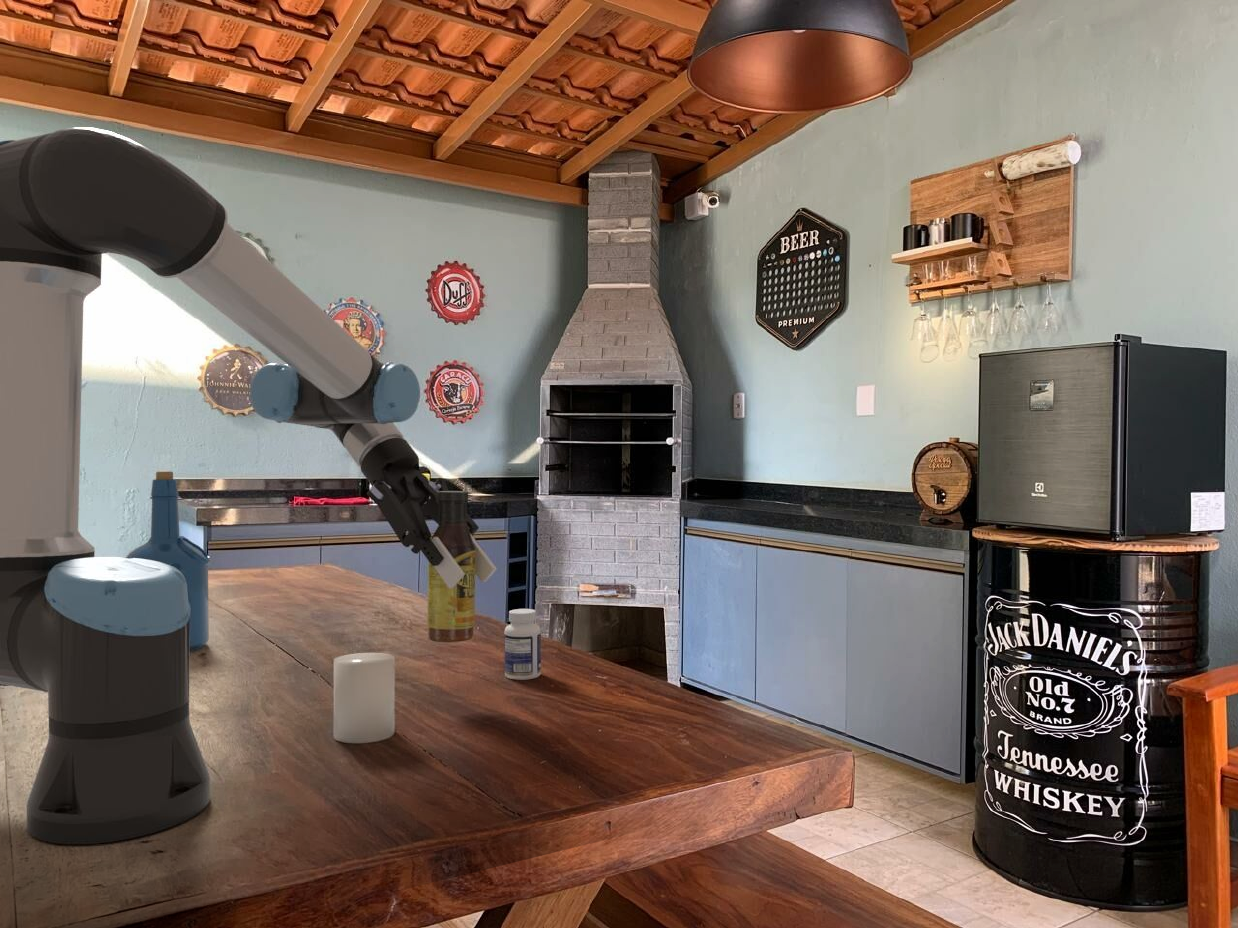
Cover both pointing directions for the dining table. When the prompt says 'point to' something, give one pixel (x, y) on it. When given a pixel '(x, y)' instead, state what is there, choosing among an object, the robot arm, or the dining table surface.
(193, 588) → the wine bottle
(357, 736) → the white rounded cylinder
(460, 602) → the sauce bottle
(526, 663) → the pill bottle
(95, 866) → the dining table surface
